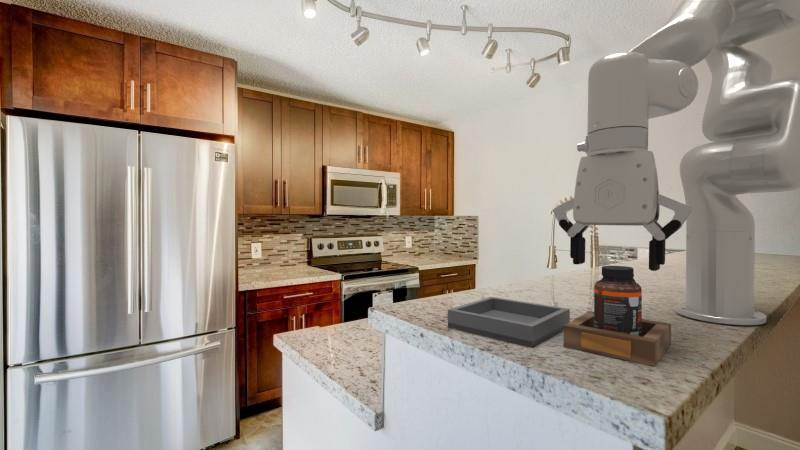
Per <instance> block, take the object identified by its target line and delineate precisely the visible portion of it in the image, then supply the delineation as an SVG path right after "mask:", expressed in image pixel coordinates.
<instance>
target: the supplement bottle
mask: <svg viewBox="0 0 800 450" xmlns="http://www.w3.org/2000/svg"><path fill="white" fill-rule="evenodd" d="M601 275H602V278H601V279H600V280H597V281H596V282H595V284H594V287H593V290H594V291H593V293H594V294H593V296H594V297H593V298H594V299H593V300H594V301H593V312H594V328H597V329H602V330H608V331H614V332H619V333H625V334H630V335H636V336H641V337H642V319H643V316H642V315H643V311H642V310H643V309H642V308H643V307H642V305H643V302H642V301H643V298H642V297H643V295H642V293H643V291H642V286H641V285H640V284H639V283H638V282H636V280H635V278H634V277H635V273H634V268H633V266H632V267H631V266H626V265H624V266H623V265H603V266H601Z"/></svg>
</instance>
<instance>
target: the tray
mask: <svg viewBox="0 0 800 450" xmlns="http://www.w3.org/2000/svg"><path fill="white" fill-rule="evenodd" d="M570 312H571V310H570V308H568V307H567V308H566V307H561V306H554V305H546V304H541V303H534V302H528V301H523V300H522V301H521V300H514V299H510V298H509V299H508V298H502V297H495V296H489V297H486V298H485V297H484V298H482V299H479V300H475V301H471V302H469V303H465V304H462V305H459V306H456V307H452V308H449V309H447V328H449V329H453V330H458V331H462V332H466V333H469V334H470V333H471V334H474V335H478V336H483V337H487V338H490V339H491V338H492V339H495V340H498V341H499V340H500V341H503V342H508V343H512V344H517V345H520V346H525V347H529V348H534V347H536V346H538V345H540V344H542V343H543V342H545V341H547V340H549V339H551V338H553V337H555V335H558V334H559V333H561V332H564V325H565V324H567V323H569V322H571V320H570V319H571V315H570V314H571V313H570Z"/></svg>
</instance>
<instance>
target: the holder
mask: <svg viewBox="0 0 800 450" xmlns="http://www.w3.org/2000/svg"><path fill="white" fill-rule="evenodd" d="M671 345H672V323H669V322H662V321H658V320H657V321H656V320H649V319H643V318H642V337H641V336H636V335H630V334H625V333H619V332H614V331H608V330H602V329H597V328H594V311H591V310H590V311H587V312H585V313H584V314H582V315H580V316H578V317H575V319H573V320H570V322H569V323H567V324H565V325H564V330H563V347H567V348H571V349H575V350H580V351H584V352H589V353H592V354H597V355H600V356H606V357H610V358H615V359H619V360H620V359H621V360H623V361H627V362H628V361H629V362H634V363H637V364H641V365H647V366H651V367H655V366H656V365H657V364H658V362H659V361H660V360H661V359H662V357H663V356H664V354H665V353H666V351H668V349H669V348H670V346H671Z"/></svg>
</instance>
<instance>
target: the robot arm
mask: <svg viewBox="0 0 800 450" xmlns="http://www.w3.org/2000/svg"><path fill="white" fill-rule="evenodd" d="M798 27H800V0H682V1H681V2H680V4H679V5H678V6H677V8H676V9H675V10H674V11H673V13H672V14H671V15H670V17H669V18H668V19H667V20H666V22H665V23H664V25H663V26H662V27H660V28H659V29H657V30H656V31H654V32H653V33H652V34H650V35H649V36H647V38H645V39H644V40H642V41H641V42H640V43H639V44H637V45H636V46H634V47H633V48H632V49H630V50H629V51H624V52H623V51H622V52H617V53H611V54H609V55H606V56H603V57H601V58H600V59H598V60H596V61H595V62H594V63H593V64H592V66H591V67H590V69H589V71H588V77H587V78H588V79H587V82H588V83H587V131H586V133H587V135H586V136H585V139H584V141H582V142H578V143H577V145H576V149H577V152H583V153H585V154H586V156H581V157H580V161H579V163H578V167H577V174H576V178H575V179H576V180H575V185H574V186H575V187H574V195H573V198H572V199H569V200H567V201H566V202H564V203H562V204H560V205H557V206H556V207H554V208H553V210H552V212H553V215H554V216H555V218H556V220H557V222H558V225H559V227H560V228H561V229H562V230H563V231H564V232H565V233H566V235H567V236H568V237H569V238H570V240H569V241H570V244H569V245H570V248H569V249H570V250H569V256H570V258H571V259H572V263H573V265H581V264H584V263H586V237H584V236H583V235H584V233H585V232H586V231H587V230H588V229H589V228H590V227H591V226H636V227H637V226H640V227H641V226H642V227H643V228H645V229H646V231H648V233H649V234H650V235H651V237H652V238H651V240H649V242H648V270H650V271H652V272H656V271H658V270H659V271H660V269H661V266H662V265H663V266H664V265H665V264H666V240H668V239H669V238H670V237H671V236H672V235H673V234H675V233H676V232H678V231H679V230H680V229H681V228H682V227H683V225H684V223H685V225H686V226H685V235H686V236H685V240H686V241H685V249H686V250H685V251H686V252H685V265H686V266H685V302H681V303H678V304H676V306H675V312H676V313H677V314H678V315H681V316H684V317H686V318H689V319H690V318H691V319H694V320H699V321H703V322H709V323H714V324H721V325H722V324H723V325H733V326H758V325H764V324H766V323H767V315H766V314H765V313H763V312H761V311H758V310H756V309H755V270H756V269H755V253H756V252H755V249H756V248H755V247H756V244H755V242H756V240H755V239H756V237H755V236H756V235H755V233H756V231H755V230H756V224H755V222H756V221H755V218H754V216H753V214H752V212H751V210H750V209H749V208H748V207H747V206H745V204H744V203H743V202H742V201H741V200H739V198H738V197H737V196H738V195H744V194H761V193H781V192H789V191H790V192H792V191H796V190H799V189H800V74H799V75H798V74H797V75H792V76H791V75H790V76H786V77H782V78H779V79H778V78H777V79H774V80H772V75H773V67H772V66H773V65H772V64H771V63H770V62H769V60H767V59H766V58H764V56H762V55H761V54H758V53H757V52H755V51H752V50H749V49H747V48H745V47H744V46H743V45H746V44H749V43H751V42H754V41H755V42H756V41H758V40H761V39H764V38H767V37H771V36H773V35H778V34H780V33H783V32H786V31H789V30H792V29H796V28H798ZM703 60H704V61H705V62H706V64H707V66H708V68H709V70H710V73H711V84H710V89H709V93H708V96H707V100H706V104H705V107H704V112H703V116H702V123H701V130H702V131H701V133H702V135H703V136H704V138H705V139H707V140H708V141H710V142H709V143H704V144H701V145H697V146H695V147H693V148H691V149H690V150H688V151H687V152H686V153H685V154H684V155H683V157H682V158H681V159H680V162H679V175H680V180H681V185H682V189H683V195H684V203H683V202H680V201H678V200H675V199H672V198H670V197H668V196H665V195H662V194H660V191H659V190H660V189H659V178H658V177H659V176H658V170H657V165H656V164H657V163H656V159H655V154H654V152H653V151H651V150H649V120H651V119H654V118H659V117H664V116H667V115H672V114H675V113H679V112H680V111H682V110H685V109H686V108H687V107H689V106H690V105H691V104H692V103H693V101H694V100H695V99H696V97H697V94H698V90H699V81H698V80H699V79H698V76H697V73H696V72H695V71H694V70H693V68H692V67H693V66H695V65H697V64H699V63H701V62H703ZM660 206H661V207H664V208H665V209H666V208H667V209H668V210H671V211H672V212H674V215H673V217H672V219H671V220H670V221H669V222H668V223H666V224H665V225H664V226H662V225H661V224H660V223H659V222H658V221H659V218H660V209H661V208H660ZM571 210H572V216H573V217H572V218H573V221H574V222H575V223H573V222H571V220H570V219H569V218H568V216H567V213H569V212H570V211H571Z"/></svg>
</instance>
